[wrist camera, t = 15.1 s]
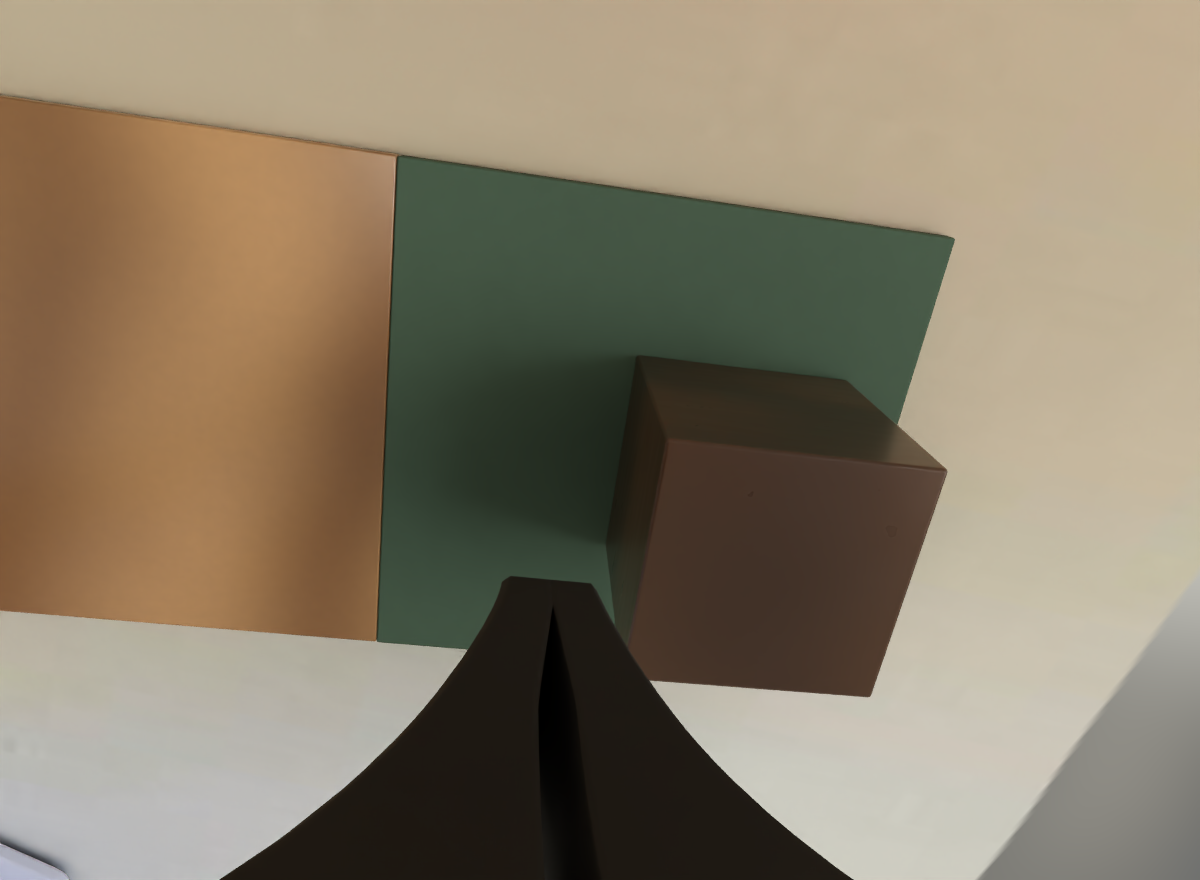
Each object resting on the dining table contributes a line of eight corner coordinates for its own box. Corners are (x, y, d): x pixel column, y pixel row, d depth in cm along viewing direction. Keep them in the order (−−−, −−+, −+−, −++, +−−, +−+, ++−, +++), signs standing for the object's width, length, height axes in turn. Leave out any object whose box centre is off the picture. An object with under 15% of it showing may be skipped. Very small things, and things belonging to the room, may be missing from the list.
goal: (379, 633, 20) (376, 642, 20) (400, 154, 16) (397, 155, 15) (814, 669, 22) (818, 678, 21) (947, 235, 17) (956, 238, 17)
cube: (604, 545, 19) (621, 680, 15) (636, 353, 17) (666, 438, 13) (797, 563, 20) (870, 699, 15) (847, 379, 18) (949, 470, 13)
